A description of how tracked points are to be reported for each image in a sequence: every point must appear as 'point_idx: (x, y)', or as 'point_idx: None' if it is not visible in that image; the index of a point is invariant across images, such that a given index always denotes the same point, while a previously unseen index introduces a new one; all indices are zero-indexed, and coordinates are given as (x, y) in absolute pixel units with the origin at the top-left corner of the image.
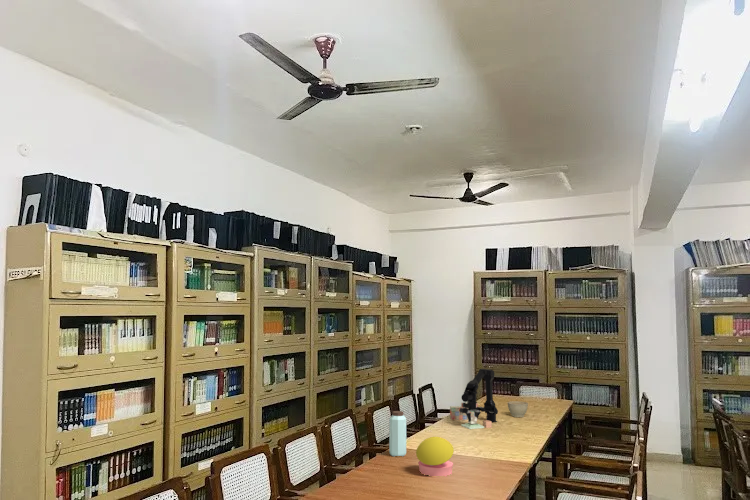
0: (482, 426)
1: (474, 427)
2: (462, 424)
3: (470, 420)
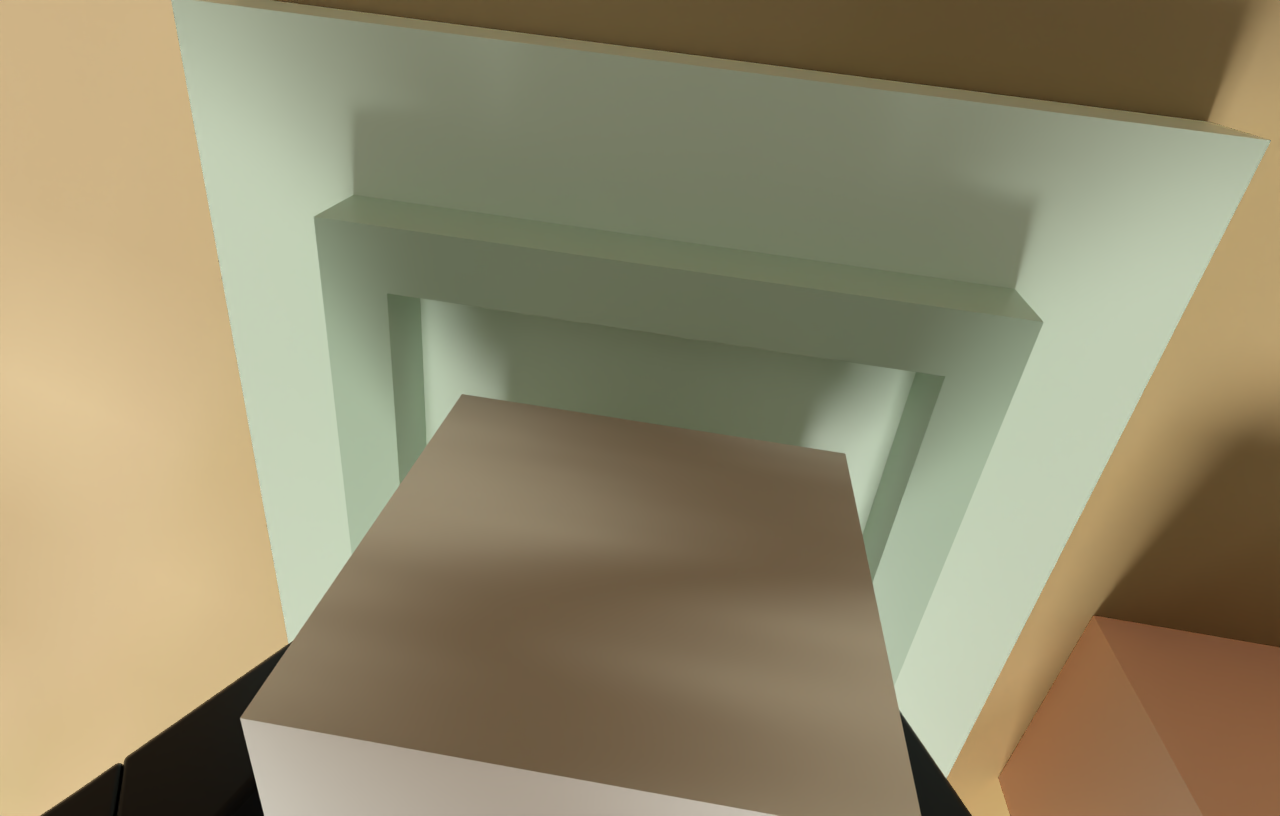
0: None
1: None
2: (218, 101)
3: None
